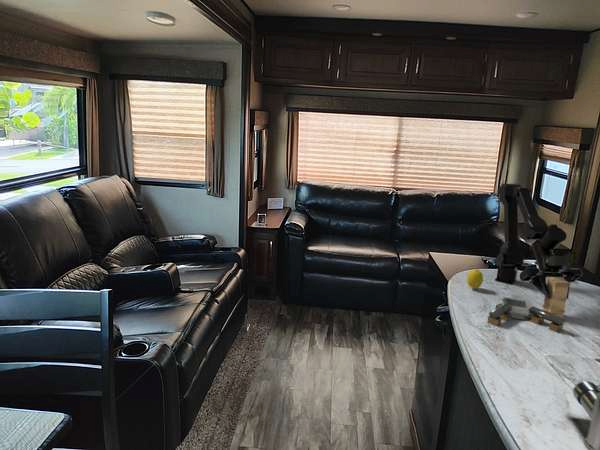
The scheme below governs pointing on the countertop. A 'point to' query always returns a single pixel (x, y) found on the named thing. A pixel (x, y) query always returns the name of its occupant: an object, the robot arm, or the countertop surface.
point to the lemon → (475, 278)
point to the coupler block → (556, 296)
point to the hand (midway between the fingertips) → (558, 298)
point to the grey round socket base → (517, 308)
